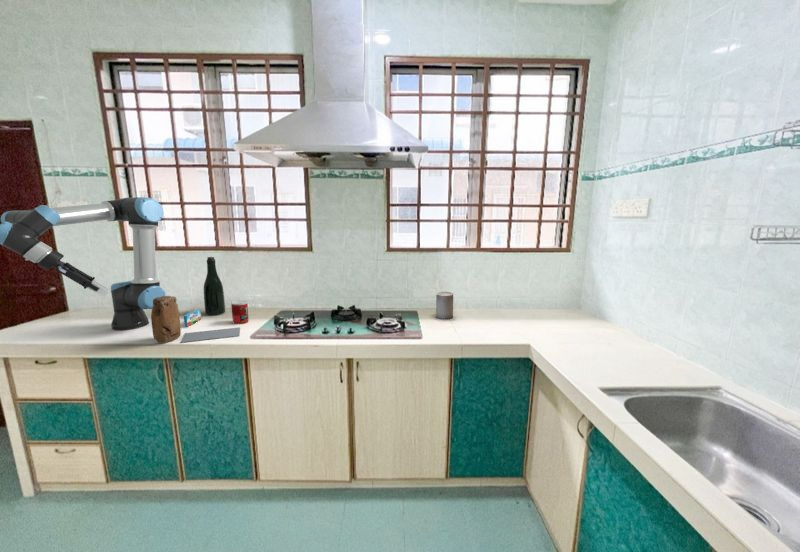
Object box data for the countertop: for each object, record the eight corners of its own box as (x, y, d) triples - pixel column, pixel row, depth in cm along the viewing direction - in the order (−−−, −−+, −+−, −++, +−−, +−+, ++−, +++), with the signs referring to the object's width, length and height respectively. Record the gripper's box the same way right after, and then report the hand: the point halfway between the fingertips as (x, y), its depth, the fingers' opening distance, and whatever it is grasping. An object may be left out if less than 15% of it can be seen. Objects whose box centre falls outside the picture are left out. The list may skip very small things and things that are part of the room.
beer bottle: (229, 312, 202) (224, 256, 197) (211, 317, 194) (206, 258, 188) (219, 310, 208) (214, 255, 202) (201, 314, 199) (196, 257, 193)
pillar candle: (452, 314, 202) (453, 289, 200) (453, 319, 193) (453, 293, 190) (435, 314, 203) (436, 289, 201) (435, 319, 194) (436, 292, 191)
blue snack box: (187, 327, 176) (186, 315, 175) (184, 327, 176) (183, 315, 175) (201, 320, 188) (200, 309, 187) (198, 320, 188) (197, 309, 187)
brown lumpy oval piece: (168, 335, 164) (163, 294, 160) (183, 336, 163) (179, 295, 160) (151, 344, 153) (145, 300, 150) (167, 344, 153) (162, 300, 149)
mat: (185, 333, 166) (185, 333, 166) (240, 328, 176) (240, 327, 176) (180, 343, 155) (180, 342, 155) (239, 336, 164) (239, 335, 164)
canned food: (242, 324, 181) (241, 304, 179) (229, 323, 182) (227, 303, 180) (251, 320, 188) (250, 300, 186) (238, 319, 190) (237, 300, 188)
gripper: (41, 261, 137) (101, 295, 150) (30, 267, 122) (98, 304, 135) (57, 247, 139) (115, 282, 152) (49, 251, 125) (113, 289, 137)
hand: (107, 292), depth 144 cm, fingers open, 6 cm apart
